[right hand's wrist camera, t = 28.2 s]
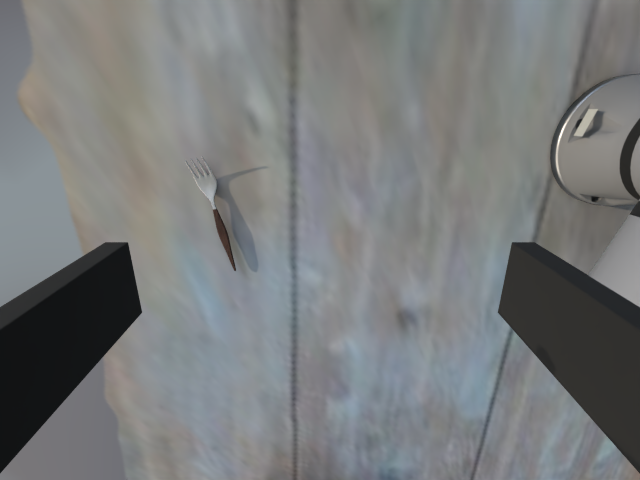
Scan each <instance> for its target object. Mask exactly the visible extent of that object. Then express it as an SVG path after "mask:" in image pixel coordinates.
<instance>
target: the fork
mask: <svg viewBox="0 0 640 480" xmlns="http://www.w3.org/2000/svg"><path fill="white" fill-rule="evenodd" d="M196 159H197V158H196ZM202 159H203V161H204V163H205V165H206V167H207V169H208V171H209V173H210V175H208V174H207V172H206V171H205V169H204V168H203V166H202V165H201V163H200V162H199V160H198V159H197V161H198V163H199V165H200V167H201V169H202V171H203V173H204V176H203V175H202V174H201V173H200V171H199V170H198V168H197V167H196V165H195V164H194V162H193V161H192V160H191V161H192V163H193V165H194V167H195V169H196V171H197V173H198V175H199V177H197V176H196V174H195V173H194V171H193V170H192V168H191V167H190V166H189V164H188V163H187V161H186V160H185V162H186V164H187V165H188V167H189V169H190V171H191V173H192V174H193V176H194V179H195V181H196V183H197V185H198V187H199V188H200V190H201V191H202V192H203V193H204V194H205V195H206V196H207V197H208V199H209V200H210V202H211V204H212V208H213V212H214V217H215V222H216V227H217V231H218V234H219V237H220V239H221V242H222V244H223V246H224V248H225V250H226V253H227V255H228V257H229V260H230V262H231V264H232V266H233V269H234V271H236V268H235V263H234V259H233V255H232V251H231V246H230V242H229V237H228V233H227V231H226V228H225V226H224V223H223V221H222V219H221V217H220V215H219V212H218V210H217V208H216V206H215V203H214V197H215V193H216V189H217V180H216V178H215V176H214V174H213V172H212V171H211V169H210V167H209V166H208V164H207V163H206V161H205V160H204V158H203V157H202Z"/></svg>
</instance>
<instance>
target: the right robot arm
mask: <svg viewBox="0 0 640 480" xmlns="http://www.w3.org/2000/svg"><path fill="white" fill-rule="evenodd" d="M550 159H551V167H552V171H553V174H554V177H555V179H556V181H557V183H558V184H559V185H560V187H561V188H562V189H563V190H564V191H565V192H566V193H568V194H569V195H570V196H572V197H574V198H576V199H578V200H581V201H584V202H587V203H590V204H595V205H603V206H619V205H635V204H636V206H635V207H634V209H633V210H632V212H631V213H630V214H629V216H628V217H627V219H626V220H625V222H624V223H623V224H622V226H621V227H620V229H619V230H618V232H617V233H616V235H615V236H614V238H613V239H612V241H611V242H610V244H609V245H608V247H607V248H606V250H605V251H604V252H603V254H602V255H601V257H600V258H599V260H598V261H597V263H596V264H595V266H594V267H593V269H592V270H591V272H590V273H589V275H587V274H585V273H583V272H582V271H580V270H578V269H577V268H575V267H574V266H572V265H570V264H569V263H567V262H565V261H564V260H562V259H561V258H559V257H557V256H556V255H554V254H552V253H551V252H549V251H548V250H546V249H544V248H543V247H541V246H539V245H538V244H536V243H535V242H512V246H511V251H510V255H509V260H508V265H507V270H506V275H505V280H504V285H503V290H502V295H501V300H500V305H499V310H498V313H499V314H500V315H501V316H502V318H503V319H504V320H505V321H506V322H507V323H508V324H509V326H510V327H511V328H512V329H513V330H514V331H515V332H516V333H517V335H518V336H519V337H520V338H521V339H522V340H523V341H524V343H525V344H526V345H527V346H528V347H529V348H530V349H531V350H532V352H533V353H534V354H535V355H536V356H537V357H538V358H539V360H540V361H541V362H542V363H543V364H544V365H545V366H546V367H547V369H548V370H549V371H550V372H551V373H552V374H553V375H554V377H555V378H556V379H557V380H558V381H559V382H560V383H561V385H562V386H563V387H564V388H565V389H566V390H567V391H568V392H569V394H570V395H571V396H572V397H573V398H574V399H575V400H576V402H577V403H578V404H579V405H580V406H581V407H582V408H583V409H584V411H585V412H586V413H587V414H588V415H589V416H590V417H591V419H592V420H593V421H594V422H595V423H596V424H597V425H598V426H599V428H600V429H601V430H602V431H603V432H604V433H605V434H606V436H607V437H608V438H609V439H610V440H611V441H612V442H613V443H614V445H615V446H616V447H617V448H618V449H619V450H620V451H621V453H622V454H623V455H624V456H625V457H626V458H627V459H628V460H629V462H630V463H631V464H632V465H633V466H634V467H635V468H636V470H637V471H638V472H639V473H640V74H632V75H624V76H618V77H614V78H611V79H608V80H606V81H603V82H601V83H599V84H597V85H596V86H594V87H592V88H591V89H589V90H588V91H587V92H585V93H584V94H583V95H582V96H580V97H579V98H578V99H577V100H576V101H575V102H574V103H573V104H572V105H571V107H570V108H569V109H568V110H567V112H566V113H565V114H564V116H563V118H562V119H561V121H560V123H559V125H558V127H557V129H556V132H555V134H554V137H553V141H552V145H551V157H550ZM141 313H142V310H141V305H140V300H139V295H138V290H137V285H136V280H135V275H134V270H133V265H132V260H131V255H130V251H129V246H128V242H105V243H104V244H102V245H101V246H99V247H97V248H96V249H94V250H92V251H91V252H89V253H88V254H86V255H84V256H83V257H81V258H79V259H78V260H76V261H75V262H73V263H71V264H70V265H68V266H66V267H65V268H63V269H62V270H60V271H58V272H57V273H55V274H53V275H52V276H50V277H49V278H47V279H45V280H44V281H42V282H40V283H39V284H37V285H35V286H34V287H32V288H31V289H29V290H27V291H26V292H24V293H22V294H21V295H19V296H18V297H16V298H14V299H13V300H11V301H9V302H8V303H6V304H5V305H3V306H1V307H0V473H1V472H2V471H3V470H4V468H5V467H6V466H7V465H8V464H9V463H10V462H11V460H12V459H13V458H14V457H15V456H16V455H17V454H18V453H19V451H20V450H21V449H22V448H23V447H24V446H25V445H26V443H27V442H28V441H29V440H30V439H31V438H32V437H33V436H34V434H35V433H36V432H37V431H38V430H39V429H40V428H41V426H42V425H43V424H44V423H45V422H46V421H47V420H48V419H49V417H50V416H51V415H52V414H53V413H54V412H55V411H56V409H57V408H58V407H59V406H60V405H61V404H62V403H63V401H64V400H65V399H66V398H67V397H68V396H69V395H70V394H71V392H72V391H73V390H74V389H75V388H76V387H77V386H78V385H79V383H80V382H81V381H82V380H83V379H84V378H85V377H86V375H87V374H88V373H89V372H90V371H91V370H92V369H93V367H94V366H95V365H96V364H97V363H98V362H99V361H100V360H101V358H102V357H103V356H104V355H105V354H106V353H107V352H108V350H109V349H110V348H111V347H112V346H113V345H114V344H115V343H116V341H117V340H118V339H119V338H120V337H121V336H122V335H123V333H124V332H125V331H126V330H127V329H128V328H129V327H130V326H131V324H132V323H133V322H134V321H135V320H136V319H137V318H138V316H139V315H140V314H141Z"/></svg>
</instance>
